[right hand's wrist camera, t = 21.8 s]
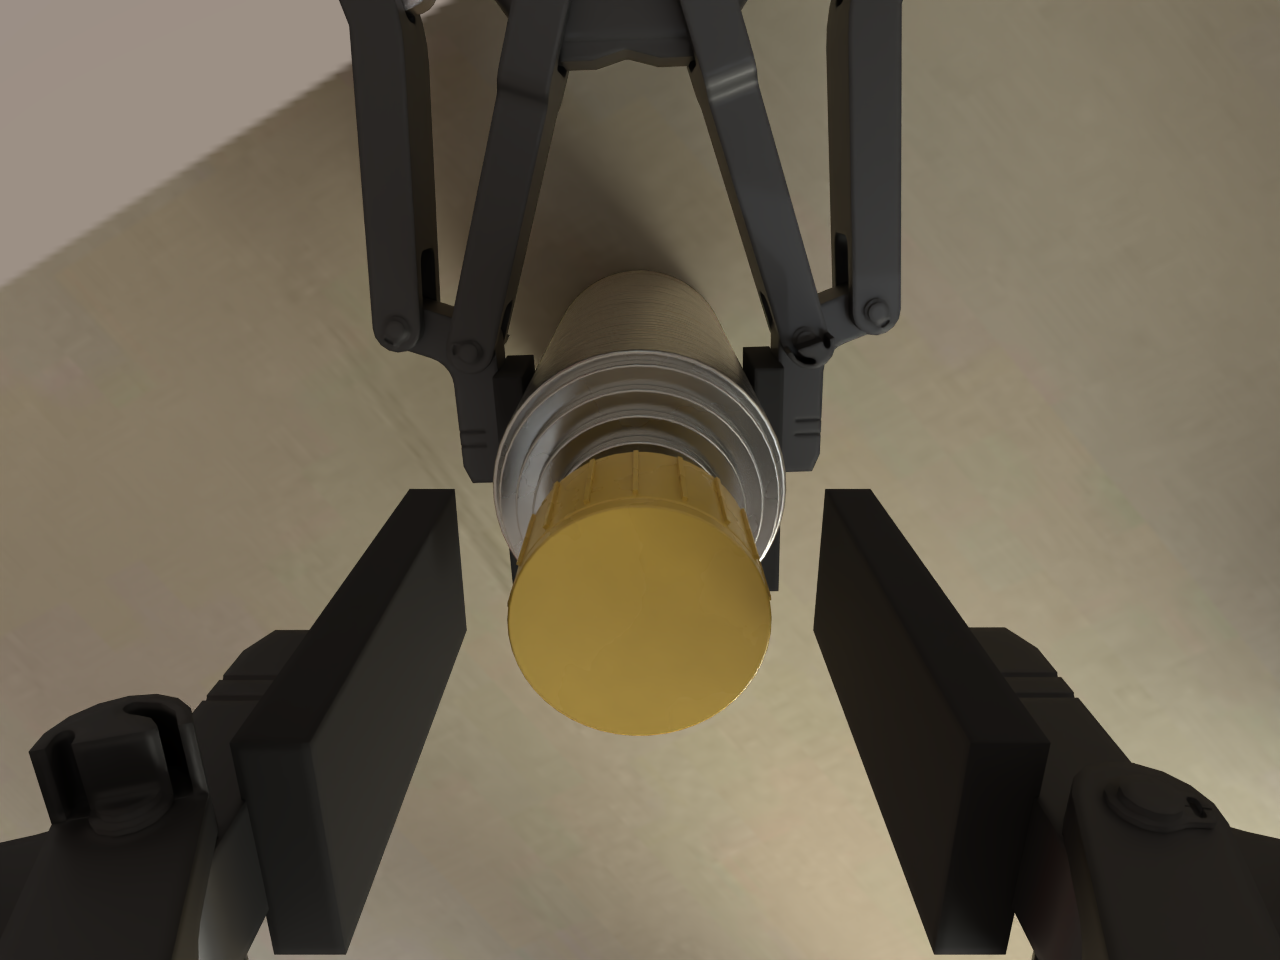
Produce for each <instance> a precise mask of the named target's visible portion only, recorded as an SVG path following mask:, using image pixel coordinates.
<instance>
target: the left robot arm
mask: <svg viewBox="0 0 1280 960" xmlns="http://www.w3.org/2000/svg"><path fill="white" fill-rule="evenodd" d="M339 1H340V4H341V6H342V9H343V11H344V14H345V16H346V19H347V21H348V24H349V29H350V41H351V54H352V67H353V80H354V93H355V106H356V119H357V131H358V144H359V157H360V170H361V183H362V196H363V208H364V221H365V234H366V247H367V260H368V273H369V286H370V298H371V311H372V324H373V331H374V334H375V338H376V339H377V340H378V342H379V343H380V344H381V345H382V346H383V347H385V348H386V349H388V350H389V351H394V352H404V351H410V352H413V353H416V354H420V355H423V356H426V357H429V358H432V359H434V360H437V361H439V362H440V363H441V364H443V365H444V366H445V367H446V368H447V370H448V371H449V372H450V374H451V376H452V378H453V382H454V388H455V396H456V405H457V413H458V422H459V430H460V439H461V445H462V456H463V464H464V468H465V470H466V471H467V473H468V475H469V477H470V479H471V481H472V482H473V483H487V482H493V476H494V467H495V460H496V457H497V453H498V449H499V445H500V442H501V440H502V438H503V435H504V433H505V431H506V428H507V426H508V424H509V422H510V420H511V418H512V416H513V414H514V412H515V410H516V408H517V406H518V404H519V402H520V400H521V398H522V397H523V395H524V393H525V391H526V389H527V387H528V385H529V383H530V381H531V379H532V377H533V375H534V373H535V367H534V355H513V356H507V357H506V359H505V348H504V345H505V343H506V342H507V340H508V338H509V336H510V335H508V334H507V333H508V329H509V324H510V320H511V316H512V311H513V307H514V302H515V298H516V294H517V289H518V285H519V280H520V276H521V272H522V267H523V263H524V258H525V254H526V250H527V245H528V241H529V236H530V232H531V227H532V223H533V219H534V214H535V210H536V205H537V201H538V197H539V192H540V188H541V183H542V179H543V175H544V170H545V166H546V161H547V157H548V153H549V148H550V144H551V139H552V135H553V130H554V126H555V122H556V118H557V114H558V111H559V108H560V106H561V102H562V99H563V95H564V91H565V86H566V82H567V78H568V73H569V71H572V70H597V69H600V68H602V67H605V66H608V65H611V64H614V63H617V62H620V61H623V60H633V61H637V62H641V63H645V64H649V65H653V66H656V67H672V66H687V69H688V72H689V75H690V79H691V82H692V85H693V88H694V91H695V94H696V97H697V100H698V102H699V104H700V107H701V109H702V112H703V115H704V119H705V122H706V125H707V128H708V132H709V135H710V138H711V141H712V145H713V148H714V151H715V154H716V158H717V161H718V164H719V167H720V171H721V174H722V177H723V180H724V184H725V187H726V190H727V193H728V197H729V200H730V203H731V207H732V210H733V213H734V216H735V220H736V223H737V226H738V229H739V233H740V236H741V239H742V242H743V246H744V249H745V252H746V255H747V259H748V262H749V265H750V268H751V272H752V275H753V278H754V281H755V285H756V288H757V291H758V294H759V298H760V301H761V304H762V307H763V311H764V314H765V317H766V320H767V324H768V327H769V330H770V332H771V348H770V347H769V346H766V347H743V370H744V372H745V374H746V376H747V378H748V380H749V382H750V384H751V386H752V388H753V390H754V392H755V394H756V396H757V398H758V400H759V402H760V404H761V406H762V408H763V410H764V412H765V414H766V416H767V418H768V420H769V422H770V424H771V426H772V428H773V430H774V432H775V434H776V436H777V439H778V442H779V445H780V448H781V451H782V455H783V460H784V466H785V472H799V471H812V470H813V467H814V465H815V463H816V461H817V459H818V456H819V454H820V432H821V412H822V388H823V370H824V364H826V363H827V362H828V360H829V359H830V358H831V357H832V355H833V352H834V349H836V348H837V347H838V346H840V345H842V344H844V343H846V342H848V341H851V340H854V339H856V338H859V337H861V336H864V335H866V334H870V335H879V334H882V333H886V332H887V331H889V330H890V329H891V328H892V327H894V325H895V324H896V322H897V320H898V319H899V315H900V310H901V41H902V1H903V0H831V3H830V8H829V16H828V23H827V43H826V55H827V94H828V133H829V173H830V212H831V251H832V288H830V289H828V290H825V291H823V292H820V293H818V294H817V291H816V287H815V284H814V280H813V277H812V273H811V269H810V266H809V262H808V259H807V255H806V252H805V248H804V245H803V241H802V238H801V234H800V231H799V227H798V223H797V220H796V216H795V213H794V209H793V206H792V202H791V199H790V195H789V192H788V188H787V184H786V181H785V177H784V174H783V170H782V167H781V163H780V160H779V156H778V153H777V149H776V146H775V142H774V138H773V135H772V131H771V128H770V124H769V121H768V117H767V114H766V110H765V107H764V103H763V100H762V96H761V92H760V89H759V85H758V79H757V69H756V64H755V59H754V55H753V52H752V48H751V44H750V41H749V37H748V34H747V30H746V27H745V23H744V20H743V16H742V12H741V10H742V8H743V6H744V5H745V3H746V2H747V0H495V1H496V2H497V4H498V5H499V7H500V8H501V9H502V11H503V12H504V13H505V15H506V16H507V17H508V23H507V28H506V33H505V38H504V43H503V48H502V53H501V58H500V63H499V69H498V76H497V97H496V102H495V107H494V112H493V117H492V122H491V127H490V132H489V137H488V142H487V147H486V152H485V157H484V162H483V167H482V172H481V177H480V182H479V186H478V191H477V196H476V201H475V206H474V211H473V216H472V221H471V226H470V231H469V236H468V241H467V246H466V251H465V256H464V261H463V266H462V271H461V276H460V281H459V286H458V291H457V296H456V300H455V305H454V306H451V305H448V304H444V303H441V302H440V284H439V264H438V243H437V222H436V202H435V181H434V160H433V140H432V119H431V99H430V78H429V61H428V51H427V42H426V38H425V33H424V28H423V23H422V20H421V17H420V14H423V13H425V12H426V11H428V10H429V9H430V8H431V7H432V6H433V5H434V3H435V1H436V0H339ZM779 549H780V526H779V529H778V531H777V534H776V536H775V539H774V541H773V543H772V545H771V547H770V548H769V550H768V552H767V554H766V555H765V557H764V558H763V560H762V561H761V565H762V568H763V572H764V575H765V578H766V581H767V585H768V588H769V591H778V587H779ZM509 550H510V548H509ZM510 560H511V570H512V580H513V583H514V580H515V577H516V573H517V570H518V567H519V566H518V565H516V563H517V559H516V558H515V556H514V555H513V553H512V551H511V550H510Z"/></svg>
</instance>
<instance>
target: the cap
mask: <svg viewBox="0 0 1280 960" xmlns="http://www.w3.org/2000/svg"><path fill="white" fill-rule="evenodd" d="M516 565H518V566H519V567H518V570H517V573H516V577H515V580H514V583H513V586H512V590H511V593H510V596H509V600H508V618H507V622H508V635H509V639H510V644H511V648H512V651H513V654H514V657H515V659H516V662H517V664H518V666H519V668H520V670H521V671H522V673H523V675H524V677H525V678H526V680H527V681H528V682H529V684H530V685H531V686H532V688H533V689H534V690H535V691H536V692H537V693H538V694H539V695H540V696H541V697H542V698H543V699H544V700H545V701H546V702H547V703H548V704H550V705H551V706H552V707H553V708H555V709H556V710H557V711H559V712H560V713H562V714H564V715H565V716H567V717H568V718H570V719H572V720H574V721H576V722H578V723H581V724H583V725H585V726H588V727H591V728H594V729H597V730H600V731H604V732H609V733H614V734H621V735H631V736H649V735H658V734H666V733H670V732H674V731H679V730H682V729H685V728H688V727H691V726H694V725H696V724H698V723H701V722H703V721H705V720H707V719H709V718H711V717H712V716H714V715H715V714H717V713H719V712H720V711H722V710H723V709H725V708H726V707H727V706H728V705H729V704H731V703H732V702H733V701H734V700H735V699H736V698H737V697H738V696H739V695H740V694H741V693H742V692H743V691H744V690H745V689H746V688H747V686H748V685H749V684H750V682H751V681H752V679H753V678H754V677H755V675H756V673H757V671H758V669H759V667H760V666H761V664H762V662H763V659H764V656H765V654H766V651H767V648H768V644H769V639H770V634H771V608H770V601H769V600H771V595H770V591H769V588H768V585H767V581H766V578H765V575H764V572H763V568H762V565H761V562H760V557H759V554H758V551H757V547H756V544H755V541H754V537H753V534H752V531H751V528H750V524H749V521H748V518H747V514H746V511H745V509H744V508H742V509H740V507H739V506H738V504H737V502H736V501H735V499H734V498H733V496H732V495H731V494H730V493H729V492H728V490H727V489H726V488H725V487H724V486H723V485H722V484H721V481H720V479H719V478H718V477H716V478H714V477H713V476H711V475H710V474H709V473H707V472H706V471H704V470H703V469H701V468H699V467H697V466H695V465H694V464H692V463H690V462H687V461H684V460H683V458H682V457H679V456H678V457H673V456H669V455H665V454H659V453H651V452H639V451H638V450H633V452H628V453H620V454H614V455H610V456H607V457H603V458H600V459H597V460H595V459H591V460H590V463H587V464H585V465H583V466H582V467H580V468H578V469H576V470H575V471H573V472H572V473H570V474H569V475H568V476H566V477H565V478H564V479H562V480H561V481H560V482H558V481H556V482H555V483H554V486H553V489H552V490H551V491H550V493H549V494H548V495H547V497H546V498H545V499H544V501H543V502H542V504H541V506H540V507H539V509H538V511H537V513H536V515H535V514H532V516H531V518H530V521H529V524H528V528H527V531H526V534H525V537H524V541H523V544H522V547H521V550H520V553H519V557H518V560H517V563H516Z"/></svg>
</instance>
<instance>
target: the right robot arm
mask: <svg viewBox="0 0 1280 960" xmlns="http://www.w3.org/2000/svg"><path fill="white" fill-rule="evenodd" d="M466 631H467V628H466V617H465V605H464V593H463V581H462V570H461V558H460V546H459V534H458V523H457V511H456V499H455V489H409V491H408V492H407V493H406V495H405V496H404V498H403V499H402V501H401V502H400V503H399V505H398V506H397V508H396V509H395V510H394V512H393V513H392V515H391V516H390V517H389V519H388V520H387V522H386V523H385V524H384V526H383V527H382V529H381V530H380V531H379V533H378V534H377V536H376V537H375V539H374V540H373V541H372V543H371V544H370V546H369V547H368V548H367V550H366V551H365V553H364V554H363V555H362V557H361V558H360V560H359V561H358V562H357V564H356V565H355V567H354V568H353V569H352V571H351V572H350V574H349V575H348V577H347V578H346V579H345V581H344V582H343V584H342V585H341V586H340V588H339V589H338V591H337V592H336V593H335V595H334V596H333V598H332V599H331V600H330V602H329V603H328V605H327V606H326V607H325V609H324V610H323V612H322V613H321V615H320V616H319V617H318V619H317V620H316V622H315V623H314V624H313V626H312V627H311V629H310V630H275V631H273V632H272V633H270V634H269V635H267V636H266V637H264V638H262V639H261V640H259V641H258V642H256V643H255V644H253V645H252V646H250V647H249V648H247V649H245V650H244V651H243V652H242V653H241V654H240V655H239V657H238V658H237V659H236V660H235V662H234V663H233V664H232V665H231V666H230V668H229V669H228V670H227V671H226V673H225V674H224V675H223V680H219V681H218V682H217V684H216V685H215V686H214V687H213V688H212V690H211V691H210V692H209V693H208V695H207V700H206V701H202V702H201V703H200V704H199V706H198V707H197V708H196V709H195V711H194V712H193V713H192V711H191V708H190V707H189V706H188V705H186V704H185V703H184V702H183V701H181V700H180V699H179V698H175V697H170V696H164V695H159V694H150V695H135V696H127V697H123V698H119V699H115V700H111V701H107V702H103V703H100V704H97V705H95V706H92V707H90V708H88V709H85V710H83V711H81V712H79V713H76V714H74V715H72V716H69V717H68V718H66V719H65V720H63V721H62V722H60V723H59V724H57V725H56V726H54V727H53V728H51V729H50V730H49V731H47V732H46V733H44V734H43V735H42V737H41V738H40V739H39V740H38V741H37V742H36V744H35V745H34V746H33V747H32V748H31V749H30V751H29V755H30V758H31V761H32V764H33V767H34V770H35V773H36V776H37V780H38V783H39V786H40V789H41V792H42V795H43V798H44V802H45V805H46V808H47V811H48V814H49V817H50V820H51V824H52V825H51V827H50V830H49V831H48V832H44V833H41V834H37V835H33V836H29V837H24V838H20V839H15V840H10V841H6V842H1V843H0V960H248V956H247V953H248V951H249V949H250V946H251V944H252V942H253V940H254V938H255V936H256V934H257V932H258V930H259V928H260V926H261V924H262V922H263V920H264V918H265V916H266V918H267V922H268V927H269V932H270V936H271V941H272V946H273V950H274V955H346V953H347V950H348V947H349V945H350V942H351V939H352V937H353V934H354V931H355V929H356V926H357V923H358V921H359V918H360V915H361V912H362V910H363V907H364V904H365V902H366V899H367V896H368V894H369V891H370V888H371V886H372V883H373V880H374V878H375V875H376V872H377V870H378V867H379V864H380V861H381V859H382V856H383V853H384V851H385V848H386V845H387V843H388V840H389V837H390V835H391V832H392V829H393V827H394V824H395V821H396V819H397V816H398V813H399V810H400V808H401V805H402V802H403V800H404V797H405V794H406V792H407V789H408V786H409V784H410V781H411V778H412V776H413V773H414V770H415V768H416V765H417V762H418V759H419V757H420V754H421V751H422V749H423V746H424V743H425V741H426V738H427V735H428V733H429V730H430V727H431V725H432V722H433V719H434V717H435V714H436V711H437V708H438V706H439V703H440V700H441V698H442V695H443V692H444V690H445V687H446V684H447V682H448V679H449V676H450V674H451V671H452V668H453V666H454V663H455V660H456V657H457V655H458V652H459V649H460V647H461V644H462V641H463V639H464V636H465V633H466ZM813 631H814V633H815V636H816V639H817V641H818V644H819V647H820V649H821V652H822V655H823V657H824V660H825V663H826V666H827V668H828V671H829V674H830V676H831V679H832V682H833V684H834V687H835V690H836V692H837V695H838V698H839V700H840V703H841V706H842V708H843V711H844V714H845V717H846V719H847V722H848V725H849V727H850V730H851V733H852V735H853V738H854V741H855V743H856V746H857V749H858V751H859V754H860V757H861V759H862V762H863V765H864V768H865V770H866V773H867V776H868V778H869V781H870V784H871V786H872V789H873V792H874V794H875V797H876V800H877V802H878V805H879V808H880V810H881V813H882V816H883V819H884V821H885V824H886V827H887V829H888V832H889V835H890V837H891V840H892V843H893V845H894V848H895V851H896V853H897V856H898V859H899V861H900V864H901V867H902V870H903V872H904V875H905V878H906V880H907V883H908V886H909V888H910V891H911V894H912V896H913V899H914V902H915V904H916V907H917V910H918V912H919V915H920V918H921V921H922V923H923V926H924V929H925V931H926V934H927V937H928V939H929V942H930V945H931V947H932V950H933V953H934V955H1006V950H1007V946H1008V941H1009V936H1010V932H1011V927H1012V922H1013V918H1014V913H1015V914H1016V916H1017V918H1018V920H1019V922H1020V924H1021V926H1022V928H1023V930H1024V932H1025V934H1026V936H1027V938H1028V940H1029V942H1030V944H1031V946H1032V948H1033V950H1034V951H1033V956H1032V960H1280V839H1277V838H1273V837H1268V836H1264V835H1259V834H1255V833H1250V832H1246V831H1242V830H1239V829H1235V828H1231V827H1230V826H1229V823H1228V822H1227V821H1226V819H1225V818H1224V817H1223V815H1222V814H1221V813H1220V811H1219V810H1218V808H1217V807H1216V806H1215V804H1214V803H1213V802H1211V801H1210V800H1209V799H1207V798H1206V797H1205V796H1204V795H1202V794H1201V793H1200V792H1198V791H1197V790H1196V789H1195V788H1193V787H1192V786H1191V785H1189V784H1187V783H1185V782H1183V781H1181V780H1179V779H1177V778H1175V777H1173V776H1171V775H1169V774H1167V773H1165V772H1162V771H1159V770H1156V769H1152V768H1149V767H1145V766H1142V765H1138V764H1135V763H1131V761H1130V760H1129V759H1128V758H1127V757H1126V755H1125V754H1124V753H1123V752H1122V751H1121V749H1120V748H1119V747H1118V746H1117V744H1116V743H1115V742H1114V741H1113V740H1112V738H1111V737H1110V736H1109V735H1108V733H1107V732H1106V731H1105V730H1104V729H1103V727H1102V726H1101V725H1100V724H1099V723H1098V721H1097V720H1096V719H1095V718H1094V716H1093V715H1092V714H1091V713H1090V712H1089V710H1088V709H1087V708H1086V707H1085V706H1084V704H1083V703H1082V702H1081V701H1080V699H1079V698H1074V692H1073V691H1072V690H1071V688H1070V687H1069V686H1068V685H1067V684H1066V682H1065V681H1064V680H1063V679H1062V678H1061V677H1058V676H1057V671H1056V670H1055V669H1054V668H1053V667H1052V665H1051V664H1050V663H1049V662H1048V661H1047V659H1046V658H1045V657H1044V656H1043V654H1042V653H1041V652H1040V651H1039V650H1038V648H1036V647H1035V646H1033V645H1032V644H1030V643H1028V642H1027V641H1025V640H1024V639H1022V638H1021V637H1019V636H1018V635H1016V634H1014V633H1013V632H1011V631H1010V630H1008V629H1007V628H969V627H968V626H967V624H966V623H965V622H964V620H963V619H962V617H961V616H960V615H959V613H958V612H957V610H956V609H955V607H954V606H953V605H952V603H951V602H950V600H949V599H948V598H947V596H946V595H945V593H944V592H943V591H942V589H941V588H940V586H939V585H938V584H937V582H936V581H935V579H934V578H933V577H932V575H931V574H930V572H929V571H928V569H927V568H926V567H925V565H924V564H923V562H922V561H921V560H920V558H919V557H918V555H917V554H916V553H915V551H914V550H913V548H912V547H911V546H910V544H909V543H908V541H907V540H906V539H905V537H904V536H903V534H902V533H901V531H900V530H899V529H898V527H897V526H896V524H895V523H894V522H893V520H892V519H891V517H890V516H889V515H888V513H887V512H886V510H885V509H884V508H883V506H882V505H881V503H880V502H879V501H878V499H877V498H876V496H875V495H874V493H873V492H872V491H871V489H825V499H824V511H823V522H822V534H821V546H820V558H819V570H818V581H817V593H816V605H815V617H814V628H813Z"/></svg>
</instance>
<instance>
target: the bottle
mask: <svg viewBox="0 0 1280 960" xmlns="http://www.w3.org/2000/svg"><path fill="white" fill-rule="evenodd" d="M633 450H638V451H639V452H651V453H659V454H665V455H669V456H673V457H678V456H679V457H682V458H683V460H684V461H687V462H690V463H692V464H694V465H695V466H697V467H699V468H701V469H703V470H704V471H706V472H707V473H709V474H710V475H711V476H713V477H714V478H716V477H718V478H719V479H720V481H721V484H722V485H723V486H724V487H725V488H726V489H727V490H728V492H729V493H730V494H731V495H732V496H733V498H734V499H735V501H736V502H737V504H738V506H739V507H740V509H742V508H744V509H745V511H746V514H747V518H748V521H749V524H750V528H751V531H752V534H753V537H754V541H755V544H756V547H757V551H758V554H759V557H760V562H761V561H762V560H763V558H764V557H765V555H766V554H767V552H768V550H769V548H770V547H771V545H772V543H773V541H774V539H775V536H776V534H777V531H778V529H779V526H780V523H781V519H782V515H783V511H784V506H785V497H786V472H785V466H784V460H783V455H782V451H781V448H780V445H779V442H778V439H777V436H776V434H775V432H774V430H773V428H772V426H771V424H770V422H769V420H768V418H767V416H766V414H765V412H764V410H763V408H762V406H761V404H760V402H759V400H758V398H757V396H756V394H755V392H754V390H753V388H752V386H751V384H750V382H749V380H748V378H747V376H746V374H745V372H744V370H743V368H742V367H741V365H740V363H739V361H738V359H737V357H736V355H735V353H734V351H733V349H732V347H731V345H730V343H729V341H728V339H727V337H726V335H725V333H724V331H723V329H722V327H721V325H720V323H719V321H718V319H717V317H716V315H715V313H714V311H713V310H712V308H711V307H710V305H709V304H708V303H707V302H706V300H705V299H704V298H703V297H702V296H701V295H700V294H699V293H698V292H697V291H695V290H694V289H693V288H692V287H690V286H689V285H687V284H686V283H684V282H683V281H681V280H679V279H677V278H674V277H672V276H670V275H666V274H663V273H660V272H654V271H646V270H634V271H625V272H621V273H616V274H613V275H610V276H608V277H605V278H603V279H601V280H599V281H597V282H595V283H593V284H592V285H591V286H589V287H588V288H587V289H585V290H584V291H583V292H582V293H581V294H580V295H579V296H578V297H577V298H576V299H575V300H574V301H573V302H572V304H571V305H570V306H569V308H568V309H567V311H566V313H565V314H564V316H563V318H562V320H561V322H560V324H559V326H558V328H557V330H556V332H555V333H554V335H553V337H552V339H551V341H550V343H549V345H548V347H547V349H546V351H545V353H544V355H543V357H542V359H541V361H540V363H539V365H538V367H537V369H536V371H535V373H534V375H533V377H532V379H531V381H530V383H529V385H528V387H527V389H526V391H525V393H524V395H523V397H522V398H521V400H520V402H519V404H518V406H517V408H516V410H515V412H514V414H513V416H512V418H511V420H510V422H509V424H508V426H507V428H506V431H505V433H504V435H503V438H502V440H501V442H500V445H499V449H498V453H497V457H496V460H495V467H494V476H493V496H494V503H495V509H496V515H497V518H498V522H499V525H500V528H501V531H502V534H503V536H504V538H505V540H506V542H507V544H508V546H509V548H510V550H511V551H512V553H513V555H514V556H515V558H516V559H517V560H518V557H519V553H520V550H521V547H522V544H523V541H524V537H525V534H526V531H527V528H528V524H529V521H530V518H531V516H532V514H535V515H536V513H537V511H538V509H539V507H540V506H541V504H542V502H543V501H544V499H545V498H546V497H547V495H548V494H549V493H550V491H551V490H552V489H553V486H554V483H555V482H556V481H558V482H560V481H561V480H562V479H564V478H565V477H566V476H568V475H569V474H570V473H572V472H573V471H575V470H576V469H578V468H580V467H582V466H583V465H585V464H587V463H590V460H591V459H595V460H597V459H600V458H603V457H607V456H610V455H614V454H620V453H628V452H633Z"/></svg>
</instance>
